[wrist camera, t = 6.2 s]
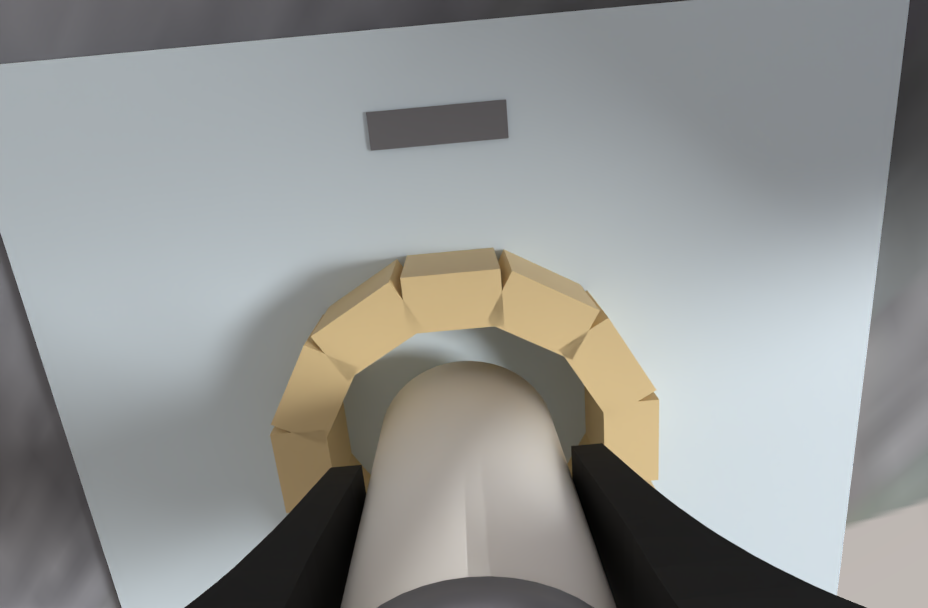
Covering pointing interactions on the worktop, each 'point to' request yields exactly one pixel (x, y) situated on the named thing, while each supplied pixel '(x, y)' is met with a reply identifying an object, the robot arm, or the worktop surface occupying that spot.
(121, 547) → the plate
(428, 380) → the tube
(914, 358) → the worktop surface
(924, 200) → the worktop surface
